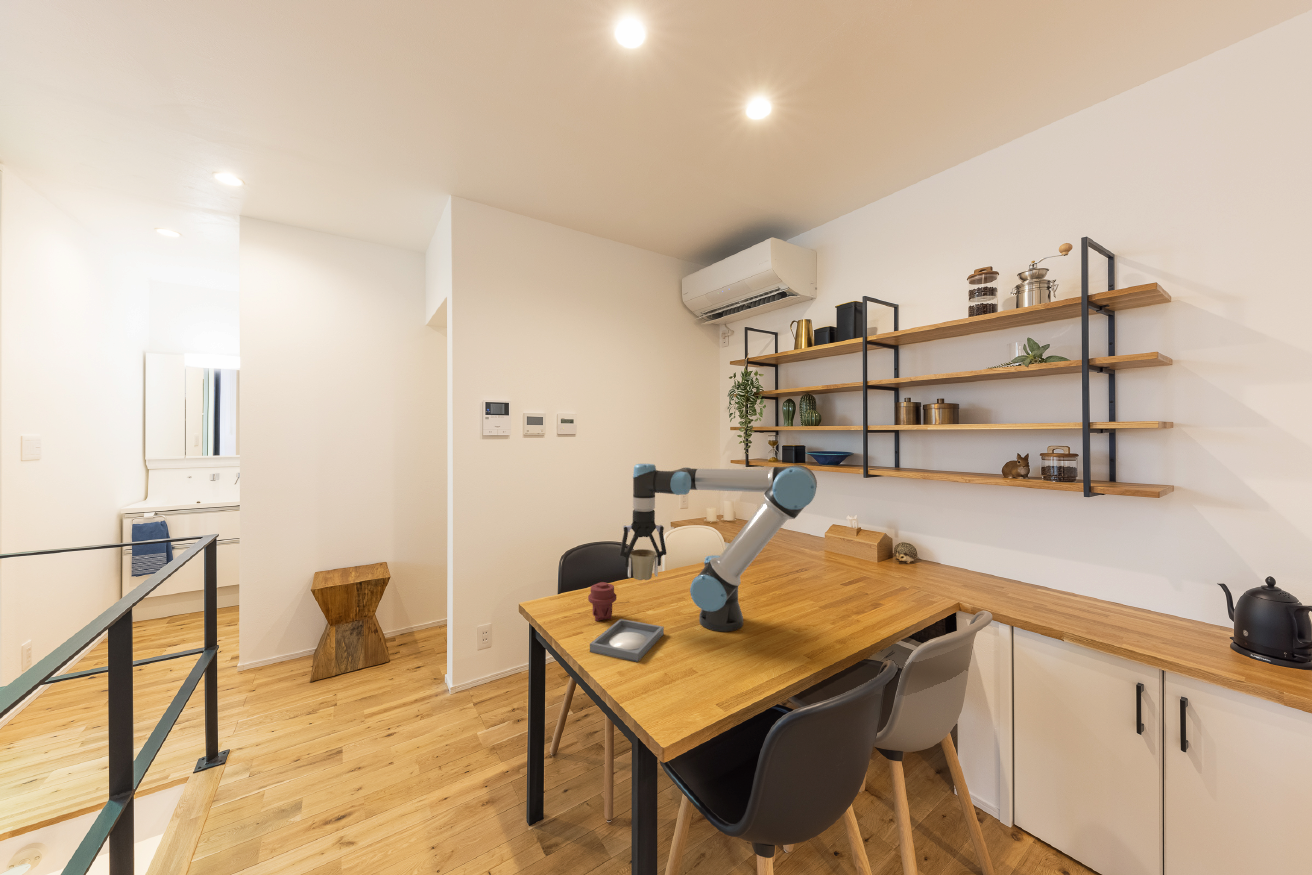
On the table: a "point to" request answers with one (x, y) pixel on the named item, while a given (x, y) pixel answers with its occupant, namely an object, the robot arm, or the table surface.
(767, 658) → the table surface
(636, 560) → the flower pot
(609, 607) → the mechanical component
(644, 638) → the housing tray
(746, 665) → the table surface
